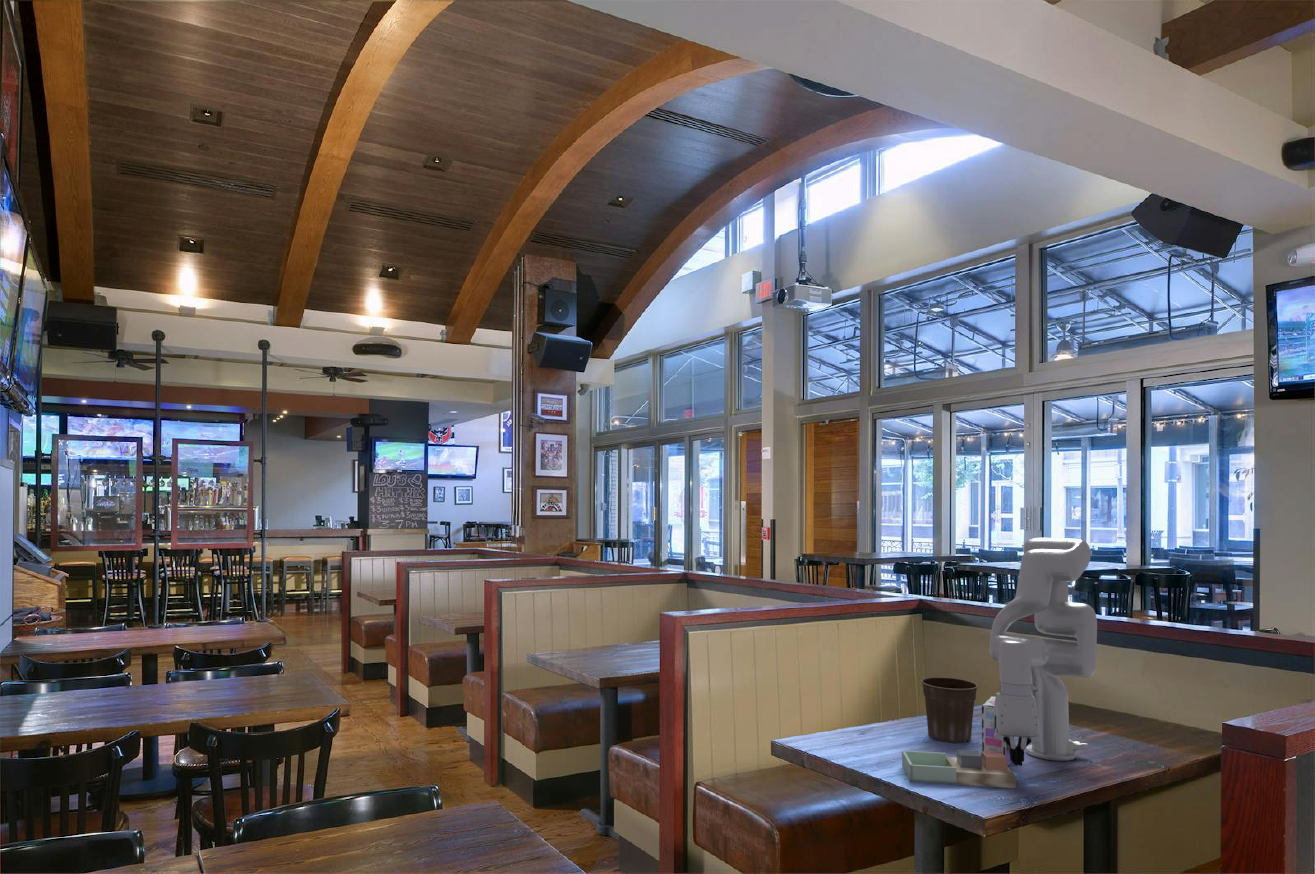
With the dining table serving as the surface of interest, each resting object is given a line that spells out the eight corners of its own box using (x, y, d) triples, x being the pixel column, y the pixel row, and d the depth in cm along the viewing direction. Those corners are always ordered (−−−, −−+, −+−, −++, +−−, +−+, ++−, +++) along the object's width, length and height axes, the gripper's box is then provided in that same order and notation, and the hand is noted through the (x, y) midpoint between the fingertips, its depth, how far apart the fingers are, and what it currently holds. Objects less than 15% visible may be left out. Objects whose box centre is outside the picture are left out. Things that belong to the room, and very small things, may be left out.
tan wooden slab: (1001, 771, 217) (1001, 759, 218) (1016, 787, 205) (1015, 775, 205) (945, 768, 219) (945, 756, 220) (956, 784, 206) (956, 771, 207)
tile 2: (1001, 764, 214) (1001, 751, 214) (1007, 770, 209) (1006, 757, 209) (981, 762, 215) (981, 750, 215) (986, 768, 210) (986, 756, 210)
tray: (945, 768, 219) (945, 752, 220) (956, 784, 206) (956, 767, 207) (902, 765, 221) (902, 750, 221) (910, 781, 208) (910, 765, 208)
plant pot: (987, 746, 242) (986, 688, 243) (930, 744, 242) (930, 687, 243) (967, 731, 258) (967, 677, 259) (914, 729, 258) (914, 676, 259)
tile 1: (977, 762, 215) (976, 750, 215) (982, 768, 210) (981, 756, 210) (956, 761, 215) (956, 749, 216) (961, 767, 210) (961, 755, 211)
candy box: (1005, 772, 217) (1004, 707, 218) (981, 768, 220) (980, 704, 221) (1014, 759, 229) (1013, 697, 230) (991, 755, 232) (990, 695, 233)
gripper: (1041, 687, 215) (1043, 761, 214) (981, 685, 217) (982, 758, 216) (1051, 694, 208) (1053, 770, 206) (988, 691, 210) (990, 766, 208)
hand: (1017, 763), depth 211 cm, fingers closed
